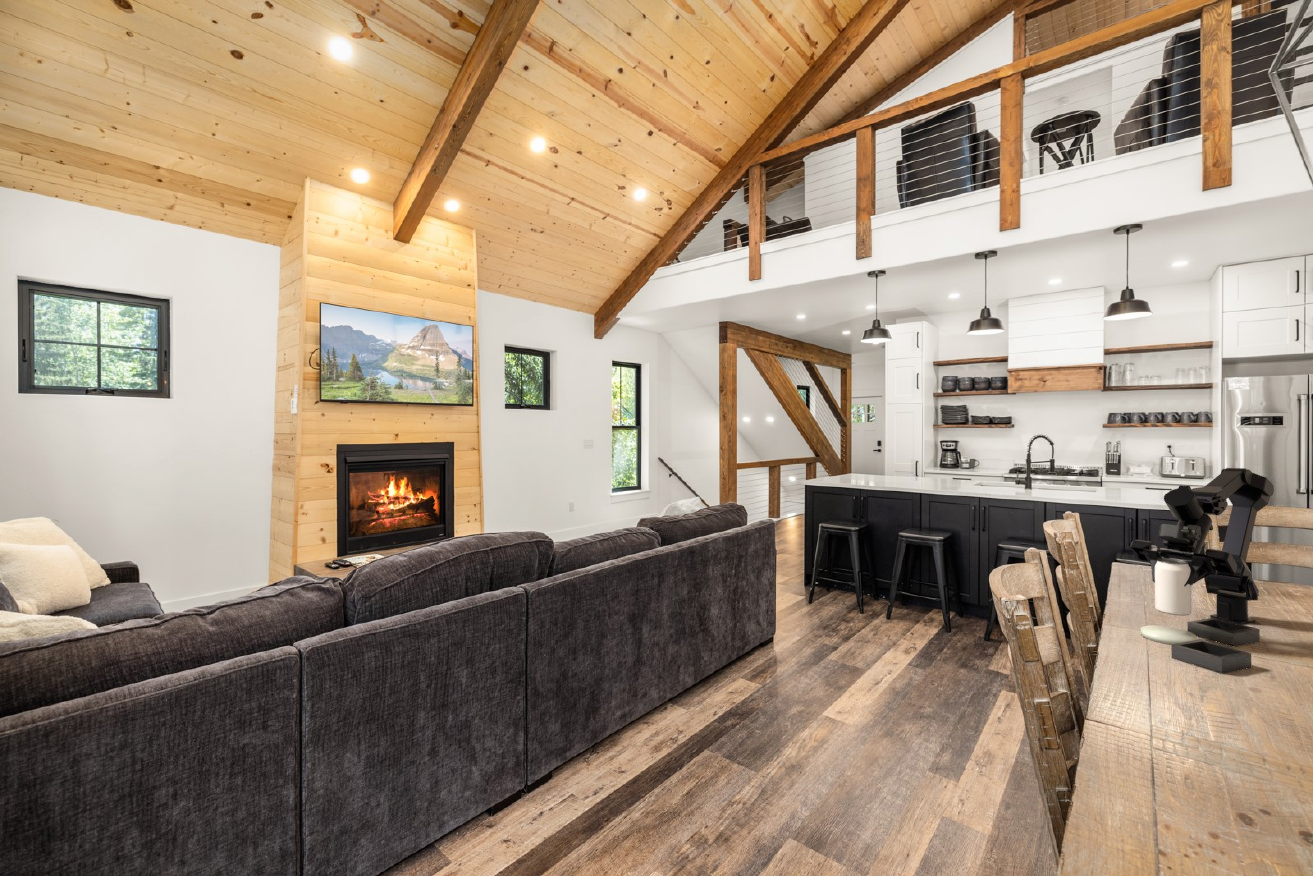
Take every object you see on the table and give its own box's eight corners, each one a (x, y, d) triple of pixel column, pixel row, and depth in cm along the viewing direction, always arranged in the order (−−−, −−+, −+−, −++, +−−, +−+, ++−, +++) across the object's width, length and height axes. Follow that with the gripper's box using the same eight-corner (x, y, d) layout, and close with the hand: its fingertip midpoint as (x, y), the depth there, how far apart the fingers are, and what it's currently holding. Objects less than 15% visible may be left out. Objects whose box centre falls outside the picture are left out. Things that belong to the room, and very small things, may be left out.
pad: (1159, 629, 145) (1159, 623, 145) (1207, 642, 135) (1207, 636, 135) (1130, 634, 142) (1130, 628, 142) (1177, 648, 132) (1177, 641, 132)
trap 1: (1200, 652, 129) (1199, 639, 129) (1251, 667, 121) (1251, 653, 121) (1171, 658, 127) (1171, 644, 127) (1221, 673, 118) (1221, 659, 118)
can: (1185, 609, 139) (1184, 559, 139) (1196, 617, 133) (1196, 565, 133) (1151, 606, 142) (1150, 557, 142) (1160, 614, 136) (1160, 563, 136)
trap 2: (1213, 629, 144) (1212, 617, 144) (1259, 642, 135) (1259, 629, 135) (1187, 634, 141) (1187, 621, 141) (1233, 646, 132) (1233, 633, 132)
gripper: (1132, 507, 148) (1109, 556, 143) (1229, 515, 131) (1207, 571, 126) (1149, 535, 151) (1127, 583, 146) (1246, 546, 134) (1225, 602, 130)
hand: (1168, 584), depth 137 cm, fingers closed on can, 5 cm apart
